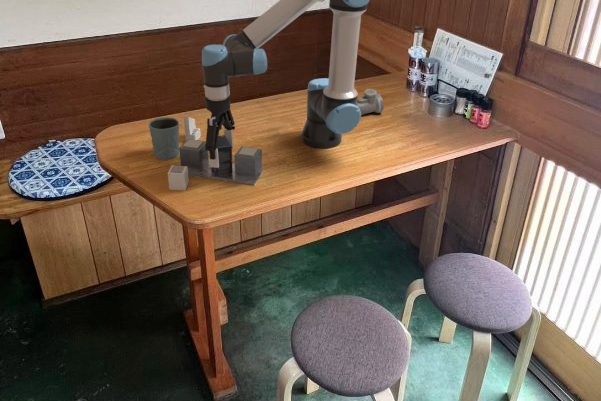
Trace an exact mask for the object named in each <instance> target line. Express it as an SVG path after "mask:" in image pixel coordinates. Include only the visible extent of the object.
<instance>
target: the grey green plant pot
mask: <svg viewBox="0 0 601 401" xmlns="http://www.w3.org/2000/svg"><path fill="white" fill-rule="evenodd" d="M147 125H148V128H149V129H148V130H149V133H150V137H151V143H152V146H153V147H152V148H153V153H154V154H153V155H154V157H155V158H156V159H158V160H161V161H168V160H174V159H176V158H177V157H178V156H180V153H179V147H180V146H179V144H180V121H179V120H178V119H176V118H173V117H167V116H166V117H158V118H154V119H152V120H150V121H149V122H148V124H147Z"/></svg>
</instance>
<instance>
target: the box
mask: <svg viewBox="0 0 601 401" xmlns="http://www.w3.org/2000/svg"><path fill="white" fill-rule="evenodd" d="M216 149H218V159H219V168H215V167H212V169H213V170H214V172H215V174H216V176H221V175H227V174H232V173H233V172H232V164H233V149H232V145H231V144H230V143H229V141H228V140H227V138H226V137H225V135H224V134H223V135H219V136H218V142H217V147H216Z"/></svg>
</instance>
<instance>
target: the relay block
mask: <svg viewBox="0 0 601 401" xmlns="http://www.w3.org/2000/svg"><path fill="white" fill-rule="evenodd" d="M167 179H168V188H169V191H170V190H171V191H184V192H185V191H186V189H187V187H188V185H189V182H190V181H189V180H190V179H189V175H188V169H187V166H181V165H171V166H170V168H169V170H168V172H167Z"/></svg>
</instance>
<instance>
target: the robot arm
mask: <svg viewBox="0 0 601 401" xmlns="http://www.w3.org/2000/svg"><path fill="white" fill-rule="evenodd" d="M318 2H321V3H323V2H325V0H278V1H277V2H276V3H275V4H273V5H272V6H271V7H269V9H267V10H266V11H264V12H263V13H262V14H261V15H260V16H258V17H257V18H256V19H255V20H254V21H252V22H251V23H250V24H248V25H247V26H246V27H244V28H243V30H241V31H240V32H238V33H237V34H234V33H233V34H230V35H227V37H225V38H224V40H223V43H222V44H208V45H206V46H204V47H203V48H202V49H201V65H202V74H203V84H204V85H203V88H204V95H205V108H206V110H207V111H209V112H210V113H211V115H210V118H206V119H207V120H206V122H207V123H206V124H207V126H206V127H207V128H206V137H205V141H206V146H205V150H206V151H208V159H209V160H210V167H215V168H219V159H218V149H216V147H217V142H218V136H220V131H221V130H222V126H223V128H224V129H223V135H225V137H226V138H227V140H228V141H229V143H230V144H231V145H232V150H233V149H234V137H233V136H234V135H233V130H236V126H235V119H234V117H233V114H232V111H231V97H230V95H231V94H230V83H229V79H230V78H232V77H233V78H234V77H242V76H243V77H245V76H252V75H253V76H254V75H255V76H257V75H259V74H264V73H266V71H267V69H268V58H267V53H266V51H265V50H264V48H260V47H262V46H263V45H264V44H266V43H267V42H268V41H269V40H271V39H273V37H274V36H276V35H277V34H278V33H280V32H281V31H282V30H283V29H285V28H286V27H288V25H290V24H291V23H293V21H295V20H296V19H297V18H298V17H299V16H301V15H302V14H304V13H305V12H306V11H307V10H309V9H310V8H311V7H312V6H314V5H315V4H317V3H318ZM369 3H370V0H329V4H328V5H329V6H328V8H329V9H330V11H332V13H333V16H332V29H331V32H332V33H331V44H330V57H329V70H328V78H327V77H325V78H314V79H311V80H310V81H309V82H308V83H307V85H308V86H307V91H306V92H307V94H306V95H307V96H306V98H307V99H306V100H307V101H306V103H307V104H306V120H305V123H304V126H303V128H302V131H301V137H300V138H301V141H302V143H304V144H305V145H306V146H308V147H312V148H317V149H330V148H335V147H337V146H339V145H340V144H341V142H342V138H343V136H342V135H343V134H344V135H345V134H348V133H350V132H352V131H353V130H354V129H355V128H356V127H358V125H359V124H360V121H361V119H362V115H361V112H360V109H359V107H358V106H357V100H358V91H357V90H356V88H355V82H356V81H355V78H356V71H357V59H358V50H359V49H358V48H359V39H360V29H361V22H362V15H363V14H364V13H365V12H366V11H367V10H368V4H369Z"/></svg>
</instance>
